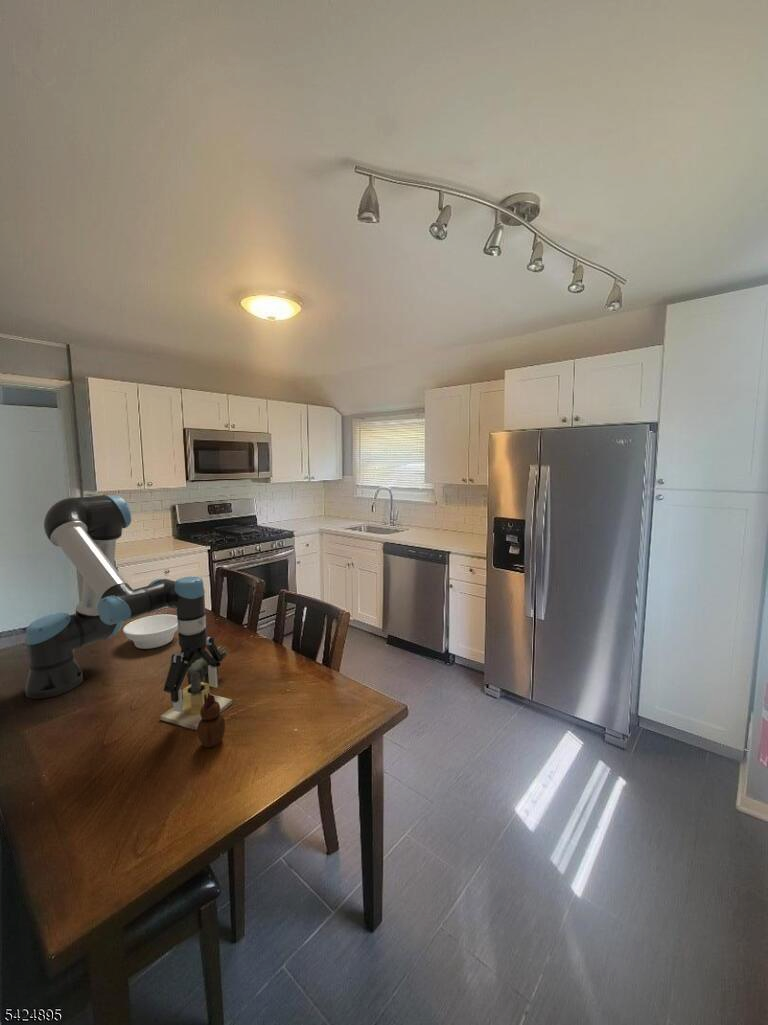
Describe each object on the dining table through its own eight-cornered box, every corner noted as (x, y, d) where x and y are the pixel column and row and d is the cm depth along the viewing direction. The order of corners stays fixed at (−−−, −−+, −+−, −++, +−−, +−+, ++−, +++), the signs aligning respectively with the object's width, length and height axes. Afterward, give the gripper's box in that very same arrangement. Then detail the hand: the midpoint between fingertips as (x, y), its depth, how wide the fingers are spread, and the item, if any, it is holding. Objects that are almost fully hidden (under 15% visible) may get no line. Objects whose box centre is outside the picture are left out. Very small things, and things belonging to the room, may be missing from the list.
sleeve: (178, 711, 124) (177, 692, 123) (197, 698, 130) (196, 680, 130) (197, 717, 121) (196, 697, 120) (215, 703, 128) (214, 685, 127)
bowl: (166, 654, 162) (164, 634, 161) (112, 654, 162) (110, 634, 161) (191, 632, 183) (190, 614, 182) (143, 632, 183) (142, 614, 182)
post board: (160, 719, 122) (157, 679, 120) (197, 694, 135) (195, 657, 133) (198, 730, 117) (195, 688, 115) (232, 703, 130) (230, 665, 128)
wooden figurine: (207, 754, 108) (204, 700, 106) (194, 746, 111) (190, 693, 109) (230, 739, 113) (227, 687, 111) (216, 732, 116) (213, 681, 114)
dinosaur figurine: (187, 710, 127) (185, 675, 126) (163, 706, 129) (161, 671, 128) (230, 673, 148) (228, 643, 147) (209, 670, 150) (207, 641, 149)
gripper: (166, 650, 110) (171, 725, 113) (232, 616, 133) (235, 679, 136) (145, 646, 112) (151, 719, 115) (213, 613, 135) (216, 675, 138)
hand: (196, 698), depth 125 cm, fingers open, 13 cm apart
